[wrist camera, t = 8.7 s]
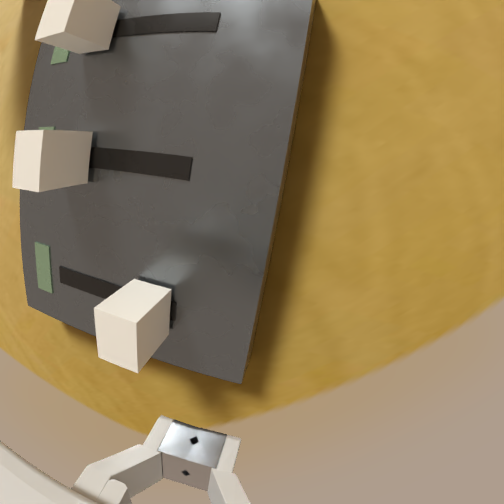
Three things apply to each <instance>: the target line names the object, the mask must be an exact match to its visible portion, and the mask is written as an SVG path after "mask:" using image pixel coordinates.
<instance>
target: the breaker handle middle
mask: <svg viewBox="0 0 504 504" xmlns="http://www.w3.org/2000/svg"><path fill="white" fill-rule="evenodd" d="M92 134H93V132H89V131H68V130H23V131H16V140H15V151H14V165H13V188H17V189H23V190H29V191H34V192H43V191H48V190H53V189H58V188H63V187H69V186H75V185H80V184H86V183H88V171H89V160H90V150H91V142H92Z"/></svg>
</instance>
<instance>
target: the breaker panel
mask: <svg viewBox="0 0 504 504" xmlns="http://www.w3.org/2000/svg"><path fill="white" fill-rule="evenodd" d="M112 1H113V2H115V3H116V4H118V5H119V6H121V8H120V11H119V14H118V17H117V21H116V24H115V28H114V31H113V35H112V38H111V42H110V46H109V50H102V51H94V52H88V53H82V54H78V53H75V52H72V51H69V50H65V49H62V48H59V47H56V46H53V45H49V44H46V43H41V46H40V50H39V54H38V58H37V62H36V66H35V70H34V75H33V79H32V84H31V89H30V95H29V100H28V106H27V113H26V120H25V128H24V130H68V131H89V132H93V134H92V142H91V150H90V160H89V171H88V183H86V184H80V185H75V186H69V187H63V188H58V189H53V190H48V191H43V192H34V191H29V190H23V189H20V230H21V248H22V261H23V271H24V280H25V287H26V295H27V301H28V305H29V306H31V307H33V308H35V309H37V310H39V311H41V312H43V313H45V314H47V315H49V316H51V317H53V318H55V319H57V320H59V321H62V322H64V323H66V324H68V325H70V326H73V327H75V328H77V329H79V330H82V331H84V332H86V333H89V334H91V335H94V336H96V328H95V317H94V307H96V306H97V305H98V304H100V303H101V302H103V301H104V300H105V299H107V298H108V297H109V296H111V295H112V294H114V293H115V292H116V291H118V290H119V289H120V288H122V287H123V286H125V285H126V284H127V283H129V282H130V281H132V280H133V279H137V280H140V281H144V282H147V283H151V284H154V285H158V286H161V287H165V288H169V289H172V290H171V305H170V323H169V335H168V336H167V337H166V339H165V340H164V341H163V342H162V344H161V345H160V346H159V347H158V349H157V350H156V351H155V352H154V354H153V355H152V356H151V358H154V359H157V360H160V361H163V362H166V363H169V364H172V365H175V366H179V367H182V368H185V369H188V370H192V371H195V372H198V373H202V374H205V375H209V376H212V377H216V378H219V379H223V380H227V381H231V382H235V383H238V384H242V381H243V378H244V375H245V372H246V369H247V366H248V363H249V360H250V356H251V352H252V347H253V342H254V337H255V333H256V328H257V323H258V318H259V313H260V309H261V304H262V299H263V294H264V289H265V284H266V279H267V274H268V269H269V264H270V259H271V254H272V249H273V244H274V239H275V233H276V228H277V223H278V218H279V213H280V207H281V202H282V197H283V192H284V186H285V181H286V175H287V170H288V165H289V159H290V154H291V148H292V143H293V137H294V131H295V126H296V120H297V114H298V109H299V103H300V97H301V91H302V85H303V79H304V73H305V67H306V61H307V55H308V49H309V43H310V37H311V31H312V24H313V18H314V11H315V5H316V0H112Z"/></svg>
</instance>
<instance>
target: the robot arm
mask: <svg viewBox="0 0 504 504" xmlns="http://www.w3.org/2000/svg"><path fill="white" fill-rule="evenodd" d="M240 443H241V438H238V437H234V436H230V435H227V434H223V433H219V432H215V431H211V430H207V429H203V428H198V427H195V426H192V425H189V424H186V423H183V422H180V421H177V420H174V419H171V418H168V417H165V416H162V415H161V416H160V417H159V418H158V419H157V421H156V423H155V425H154V426H153V428H152V430H151V432H150V433H149V435H148V437H147V439H146V440H145V442H144V444H143V445H140V444H138V445H136V446H134V447H131V448H129V449H126V450H124V451H122V452H119V453H117V454H115V455H112V456H110V457H107V458H105V459H102V460H100V461H97V462H95V463H92V464H89V465H88V466H87V467H86V468H85V470H84V471H83V472H82V474H81V476H80V477H79V478H78V480H77V481H76V483H75V484H74V485H73V487H72V488H71V489H70V488H68V487H66V486H65V485H63V484H61V483H60V482H58V481H57V480H55V479H53V478H52V477H50V476H49V475H47V474H45V473H44V472H42V471H41V470H39V469H38V468H36V467H35V466H33V465H32V464H30V463H29V462H28V461H26V460H25V459H24V458H22V457H21V456H19V455H18V454H17V453H15V452H14V451H12V449H10V448H9V447H8V446H6V445H5V444H4V443H3V442H1V441H0V504H132V502H131V499H130V498H131V497H133V496H135V495H136V494H138V493H140V492H142V491H143V490H145V489H146V488H148V487H150V486H152V485H153V484H155V483H157V482H158V481H160V480H161V479H162V478H166V479H170V480H172V481H176V482H179V483H182V484H186V485H189V486H192V487H195V488H198V489H202V490H205V491H208V495H209V498H210V501H211V504H251V503H250V501H249V499H248V497H247V495H246V493H245V491H244V489H243V487H242V485H241V482H240V480H239V478H238V476H237V474H234V473H233V469H234V465H235V462H236V458H237V454H238V450H239V447H240Z"/></svg>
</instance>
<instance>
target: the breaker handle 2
mask: <svg viewBox="0 0 504 504" xmlns="http://www.w3.org/2000/svg"><path fill="white" fill-rule="evenodd" d="M171 290H172V289H169V288H165V287H161V286H158V285H154V284H151V283H147V282H144V281H140V280H137V279H133V280H132V281H130V282H129V283H127V284H126V285H125V286H123V287H122V288H120V289H119V290H118V291H116V292H115V293H114V294H112V295H111V296H109V297H108V298H107V299H105V300H104V301H103V302H101V303H100V304H98V305H97V306H96V307H94V317H95V328H96V339H97V348H98V356H99V358H101V359H104V360H106V361H108V362H111V363H113V364H116V365H118V366H121V367H123V368H126V369H128V370H131V371H133V372H136V373H139V371H140V370H141V369H142V368H143V366H144V365H145V364H146V363H147V361H148V360H149V359H150V357H151V356H152V355H153V354H154V352H155V351H156V350H157V349H158V347H159V346H160V345H161V344H162V342H163V341H164V340H165V339H166V337H167V336H168V335H169V323H170V305H171Z"/></svg>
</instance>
